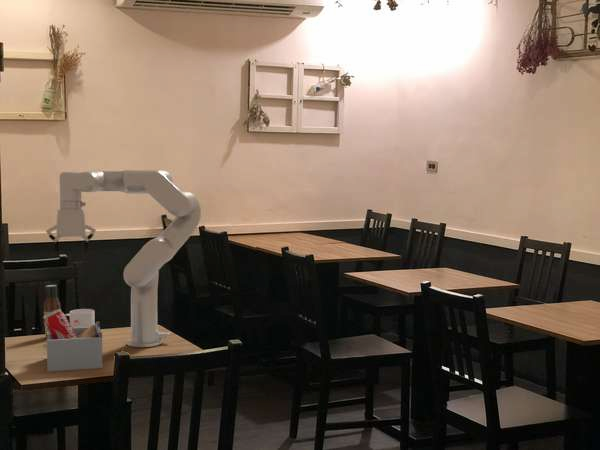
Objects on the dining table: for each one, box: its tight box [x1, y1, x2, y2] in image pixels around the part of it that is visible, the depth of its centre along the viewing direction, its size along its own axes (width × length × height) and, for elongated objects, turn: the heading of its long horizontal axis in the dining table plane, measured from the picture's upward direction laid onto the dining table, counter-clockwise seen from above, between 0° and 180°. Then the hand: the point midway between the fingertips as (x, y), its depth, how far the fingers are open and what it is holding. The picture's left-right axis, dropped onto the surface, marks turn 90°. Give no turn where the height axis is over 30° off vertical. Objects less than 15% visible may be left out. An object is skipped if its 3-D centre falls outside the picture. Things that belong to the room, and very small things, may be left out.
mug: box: [64, 308, 96, 328], centre depth 296 cm, size 12×9×11 cm
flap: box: [76, 325, 97, 338], centre depth 263 cm, size 13×15×1 cm
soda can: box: [42, 309, 76, 340], centre depth 261 cm, size 7×7×12 cm
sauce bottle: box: [43, 284, 62, 338], centre depth 300 cm, size 6×6×20 cm
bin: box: [46, 321, 104, 373], centre depth 263 cm, size 17×18×12 cm
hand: (71, 252), depth 291 cm, fingers open, 9 cm apart
